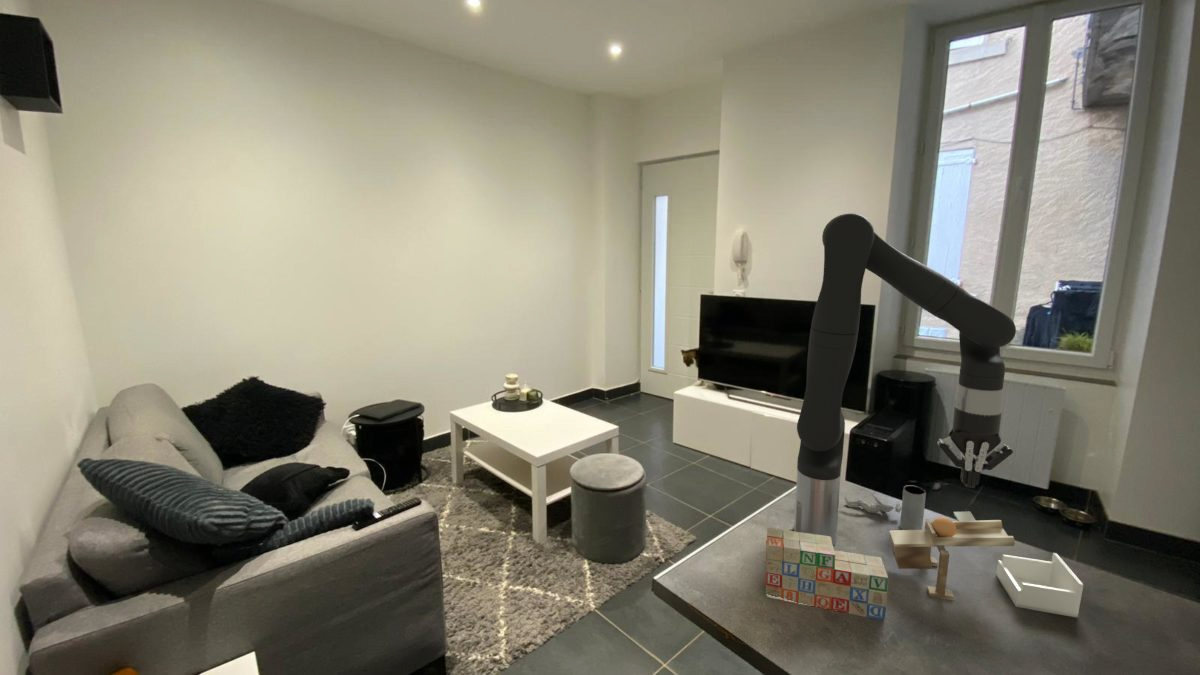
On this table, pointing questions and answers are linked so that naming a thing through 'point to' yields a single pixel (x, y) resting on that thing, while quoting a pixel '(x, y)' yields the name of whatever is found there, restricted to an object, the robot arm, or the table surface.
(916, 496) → the planter
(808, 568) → the stack of blocks
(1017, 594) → the white open box
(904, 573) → the table surface
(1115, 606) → the table surface
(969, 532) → the lever
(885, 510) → the soldier figure
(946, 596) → the lever stand
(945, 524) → the ball
